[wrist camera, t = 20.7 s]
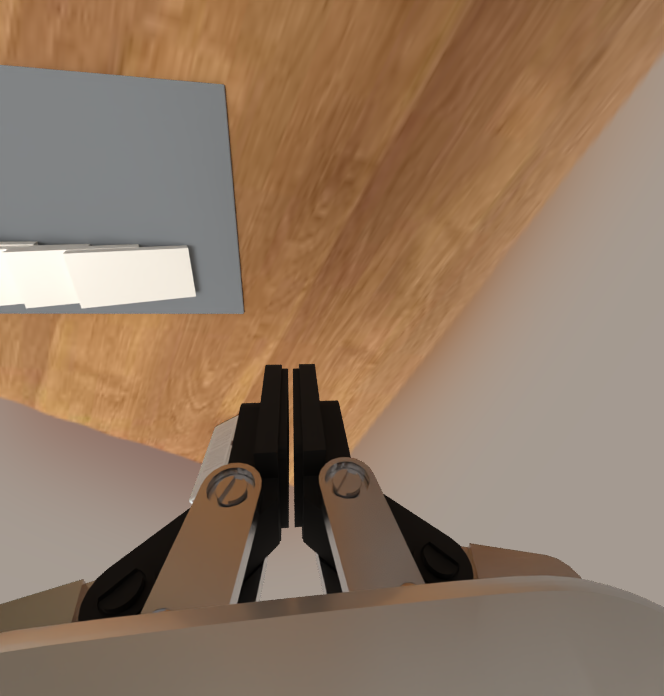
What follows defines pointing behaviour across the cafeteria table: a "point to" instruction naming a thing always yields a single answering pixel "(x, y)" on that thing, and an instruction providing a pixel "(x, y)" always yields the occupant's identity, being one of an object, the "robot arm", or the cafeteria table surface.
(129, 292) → the domino
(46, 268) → the domino
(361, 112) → the cafeteria table surface
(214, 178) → the slate mat
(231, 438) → the skincare box
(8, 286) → the domino
